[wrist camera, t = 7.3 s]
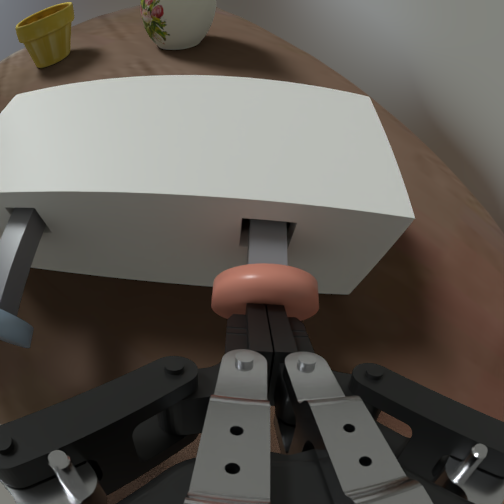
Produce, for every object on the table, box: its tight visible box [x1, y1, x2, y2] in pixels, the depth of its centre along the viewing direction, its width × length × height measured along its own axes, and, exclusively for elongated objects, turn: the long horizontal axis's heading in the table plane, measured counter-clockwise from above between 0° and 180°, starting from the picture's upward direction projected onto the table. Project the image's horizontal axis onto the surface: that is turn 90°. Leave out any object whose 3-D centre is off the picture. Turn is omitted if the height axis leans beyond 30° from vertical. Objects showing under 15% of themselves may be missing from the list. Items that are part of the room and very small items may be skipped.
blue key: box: [0, 208, 46, 348], centre depth 13 cm, size 8×4×4 cm, turn 178°
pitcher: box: [140, 0, 216, 50], centre depth 33 cm, size 11×18×14 cm, turn 45°
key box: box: [0, 75, 415, 295], centre depth 18 cm, size 10×26×9 cm, turn 88°
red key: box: [211, 219, 319, 321], centre depth 15 cm, size 8×4×4 cm, turn 178°
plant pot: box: [16, 2, 74, 68], centre depth 33 cm, size 10×10×10 cm
